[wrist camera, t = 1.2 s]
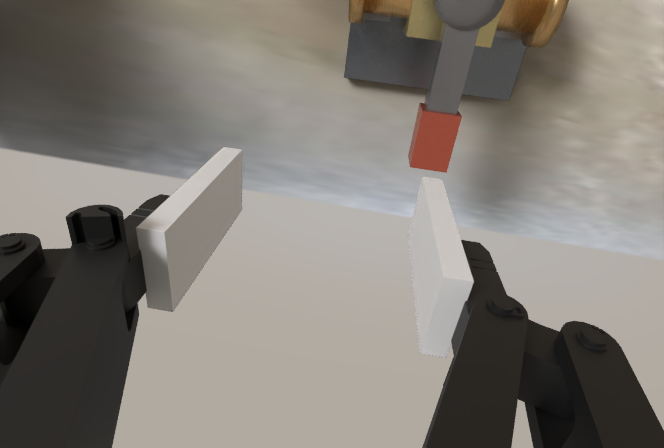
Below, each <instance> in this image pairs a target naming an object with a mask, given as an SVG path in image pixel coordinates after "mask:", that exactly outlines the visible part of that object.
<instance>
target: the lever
mask: <svg viewBox="0 0 664 448" xmlns="http://www.w3.org/2000/svg"><path fill="white" fill-rule="evenodd" d="M504 2H505V0H433V5H434V9H435V12H436V14H437V16H438V17H439V19H440V20H441V21H442V22H443V24H442V28H441V33H440V37H439V42H438V46H437V51H436V55H435V59H434V64H433V68H432V73H431V77H430V82H429V86H428V91H427V95H426V99H425V104H424V103H420V105H419V109H418V114H417V118H416V123H415V127H414V132H413V136H412V141H411V146H410V150H409V155H408V157H409V164H410V167H413V168H419V169H426V170H433V171H439V172H447V168H448V165H449V161H450V158H451V154H452V150H453V147H454V143H455V139H456V136H457V132H458V128H459V125H460V121H461V117H462V116H461V115H460V113H459V112H458V107H459V104H460V100H461V96H462V92H463V89H464V85H465V81H466V77H467V74H468V70H469V66H470V62H471V59H472V55H473V51H474V47H475V44H476V40H477V36H478V32H479V29H480V28H481V27H483V26H485V25H487V24H488V23H489V22H491V21H492V20H493V19H494V18H495V17H496V16H497V14H498V13H499V12H500V10H501V8H502V7H503V4H504Z"/></svg>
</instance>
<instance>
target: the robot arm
mask: <svg viewBox="0 0 664 448" xmlns="http://www.w3.org/2000/svg"><path fill="white" fill-rule="evenodd" d="M241 210H242V150H240V149H234V148H227V147H223V148H222V149H221V150H220V151H219V152H218V153H216V154H215V155H214V156H213V157H212V158H211V159H210V160H209V161H208V162H207V163H206V164H205V165H203V166H202V167H201V168H200V169H199V170H198V171H197V172H196V173H195V174H194V175H193V176H192V177H190V178H189V179H188V180H187V181H186V182H185V183H184V184H183V185H182V186H181V187H180V188H179V189H178V190H177V191H175V192H174V193H173V194H172V195H171V196H168V195H162V194H161V195H158V196H156V197H153V198H151V199H149V200H147V201H146V202H144V203H143V204H142V205H141V206H140V207H139V209H136V210H135V211H134V212H133V213H132V215H129V216H128V217H127V218H126V219H123V213H122V211H121V210H120V209H119V208H117V207H114V206H110V205H93V206H87V207H83V208H79V209H77V210H75V211H73V212H71V213H70V214H69V215H68V216H66V221H67V225H68V229H69V233H70V237H71V241H72V246H71V248H68V249H42V246H41V242H40V239H39V238H38V237H37V236H35V235H32V234H27V233H11V234H5V235H1V236H0V448H112V444H113V439H114V434H115V429H116V425H117V420H118V415H119V410H120V405H121V400H122V395H123V390H124V385H125V381H126V376H127V371H128V366H129V361H130V356H131V351H132V346H133V342H134V336H135V332H136V327H137V322H138V317H139V310H138V304H137V302H138V301H139V300H140V299H141V297H142V296H143V295H144V294H145V293H146V298H147V304H148V308H153V309H159V310H165V311H171V312H173V311H174V310H175V308H176V307H177V305H178V303H179V302H180V301H181V299H182V298H183V296H184V295H185V293H186V292H187V290H188V289H189V287H190V286H191V284H192V283H193V281H194V280H195V278H196V277H197V276H198V274H199V273H200V271H201V269H202V268H203V267H204V265H205V263H206V262H207V261H208V259H209V258H210V256H211V255H212V253H213V252H214V250H215V249H216V247H217V246H218V244H219V243H220V241H221V240H222V238H223V237H224V235H225V234H226V233H227V231H228V230H229V228H230V227H231V225H232V224H233V222H234V221H235V219H236V218H237V216H238V215H239V213H240V212H241ZM408 239H409V249H410V259H411V269H412V279H413V289H414V300H415V310H416V320H417V330H418V340H419V351H420V353H421V354H427V355H433V356H439V357H445V358H446V357H447V355H448V352H449V349H450V346H451V344H452V348H453V353H454V358H453V360H452V363H451V366H450V368H449V371H448V374H447V376H446V379H445V382H444V384H443V389H442V392H441V395H440V398H439V401H438V404H437V407H436V409H435V412H434V415H433V418H432V421H431V424H430V427H429V430H428V433H427V436H426V439H425V442H424V444H423V447H422V448H511V445H512V437H513V429H514V422H515V415H516V408H517V399H519V400H521V401H523V402H525V407H526V411H527V417H528V422H529V427H530V432H531V437H532V442H533V447H534V448H664V430H663V428H662V426H661V424H660V422H659V420H658V419H657V417H656V415H655V413H654V411H653V409H652V407H651V405H650V403H649V401H648V399H647V397H646V395H645V393H644V391H643V389H642V387H641V385H640V384H639V382H638V380H637V378H636V376H635V374H634V372H633V370H632V368H631V366H630V364H629V362H628V360H627V358H626V356H625V354H624V352H623V350H622V348H621V347H620V346H619V344H618V343H617V342H616V340H615V339H613V338H612V337H611V336H610V335H609V334H607V333H606V332H605V331H603V330H602V329H599V328H598V327H595V326H594V325H590V324H587V323H584V322H578V321H572V322H567V323H565V325H564V326H563V327H562V329H561V331H560V332H559V331H556V330H553V329H551V328H548V327H545V326H542V325H540V324H537V323H535V322H533V321H531V320H529V319H528V314H527V311H526V310H525V308H524V307H523V305H521V304H520V303H519V302H518V301H516V300H515V299H513V298H511V297H509V296H507V294H506V292H505V289H504V287H503V284H502V282H501V279H500V277H499V275H498V272H496V268H495V265H494V264H493V260H492V258H491V255H490V253H489V251H487V250H486V249H485V248H484V247H483V246H482V245H481V244H480V243H477V242H470V241H465V240H461V239H460V236H459V233H458V229H457V226H456V223H455V220H454V217H453V213H452V210H451V207H450V204H449V201H448V198H447V194H446V191H445V188H444V185H443V182H442V180H441V179H435V178H428V177H422V181H421V185H420V189H419V193H418V197H417V202H416V206H415V210H414V214H413V218H412V222H411V226H410V231H409V234H408Z"/></svg>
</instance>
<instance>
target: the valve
mask: <svg viewBox="0 0 664 448" xmlns="http://www.w3.org/2000/svg"><path fill="white" fill-rule="evenodd" d="M568 1H569V0H505V2H504V4H503V7H502V8H501V10H500V12H499V13H498V14H497V16H496V17H495V18H494V19H493V20H492V21H491V22H489V23H488V24H487V25H485V26H483V27H481V28H480V29H479V32H478V36H477V40H476V44H475V47H474V51H473V55H472V59H471V62H470V66H469V70H468V74H467V77H466V81H465V85H464V89H463V92H462V94H465V95H472V96H479V97H486V98H493V99H500V100H508V101H509V99H510V96H511V93H512V90H513V87H514V83H515V80H516V77H517V74H518V71H519V68H520V65H521V62H522V59H523V56H524V53H525V50H526V47H527V46H528V47H536V48H541V47H543V46H544V45H546V44H547V43H548V42H549V40H550V39H551V38H552V36H553V35H554V33H555V31H556V30H557V28H558V26H559V24H560V22H561V20H562V17H563V15H564V12H565V10H566V7H567V4H568ZM349 22H350V23H351V25H350V33H349V41H348V49H347V57H346V65H345V73H344V78H351V79H358V80H365V81H373V82H380V83H387V84H394V85H401V86H408V87H415V88H422V89H428V86H429V82H430V77H431V73H432V68H433V64H434V59H435V55H436V51H437V46H438V42H439V37H440V33H441V28H442V24H443V22H442V21H441V20H440V19H439V17H438V16H437V14H436V12H435V9H434V5H433V0H349Z"/></svg>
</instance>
